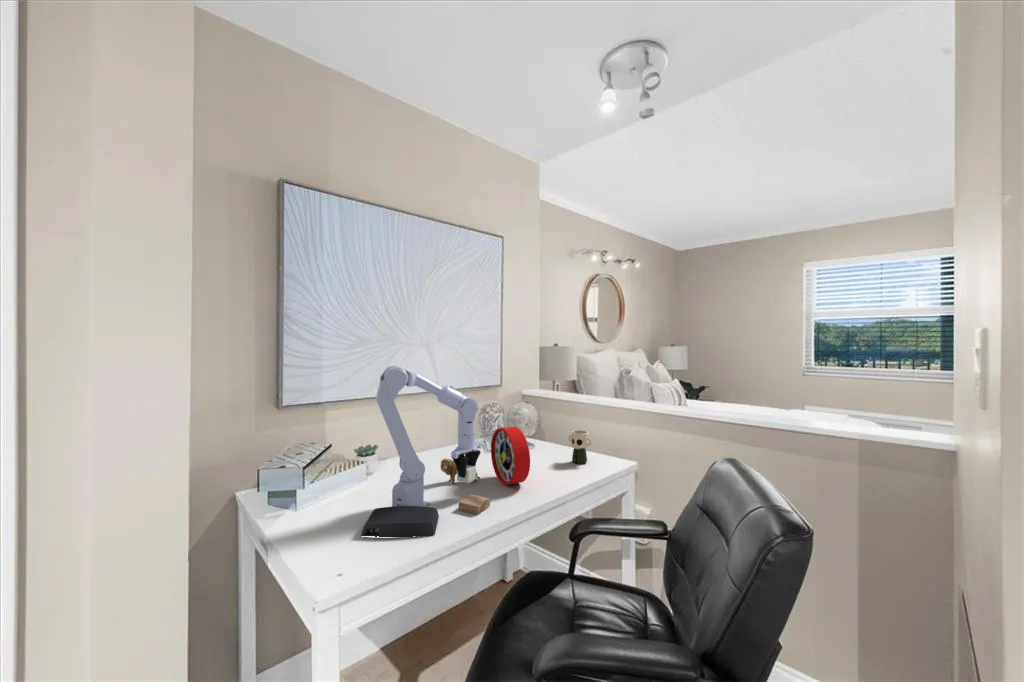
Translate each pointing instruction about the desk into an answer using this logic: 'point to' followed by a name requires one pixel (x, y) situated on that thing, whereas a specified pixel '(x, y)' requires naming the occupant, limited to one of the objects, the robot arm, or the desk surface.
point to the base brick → (474, 504)
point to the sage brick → (468, 474)
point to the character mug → (579, 445)
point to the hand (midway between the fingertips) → (466, 474)
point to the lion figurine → (451, 469)
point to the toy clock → (510, 455)
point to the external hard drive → (402, 521)
